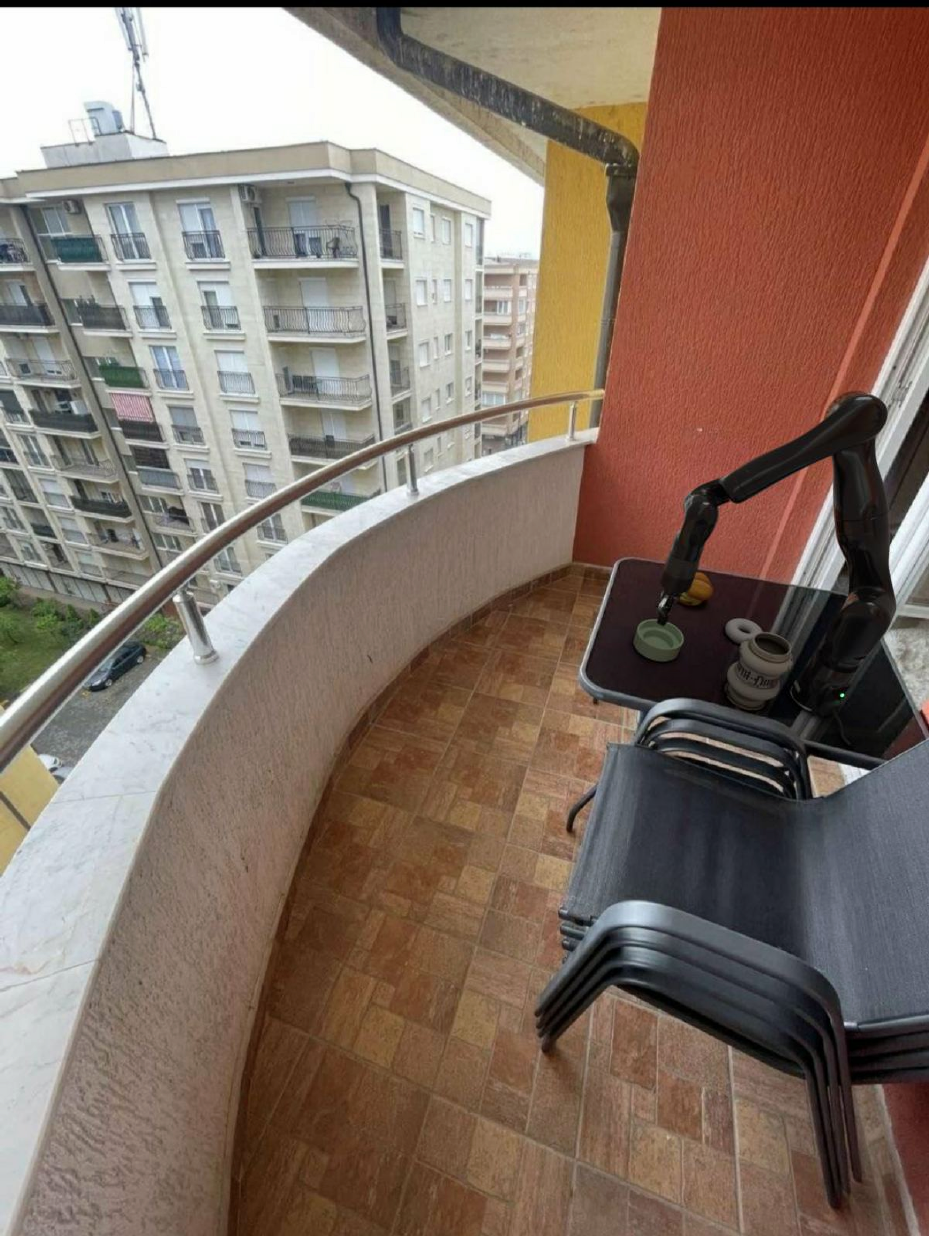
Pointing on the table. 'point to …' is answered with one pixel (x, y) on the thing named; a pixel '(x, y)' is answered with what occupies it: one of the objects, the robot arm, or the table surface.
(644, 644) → the bowl
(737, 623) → the donut
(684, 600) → the cheeseburger
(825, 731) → the table surface
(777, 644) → the apothecary jar
